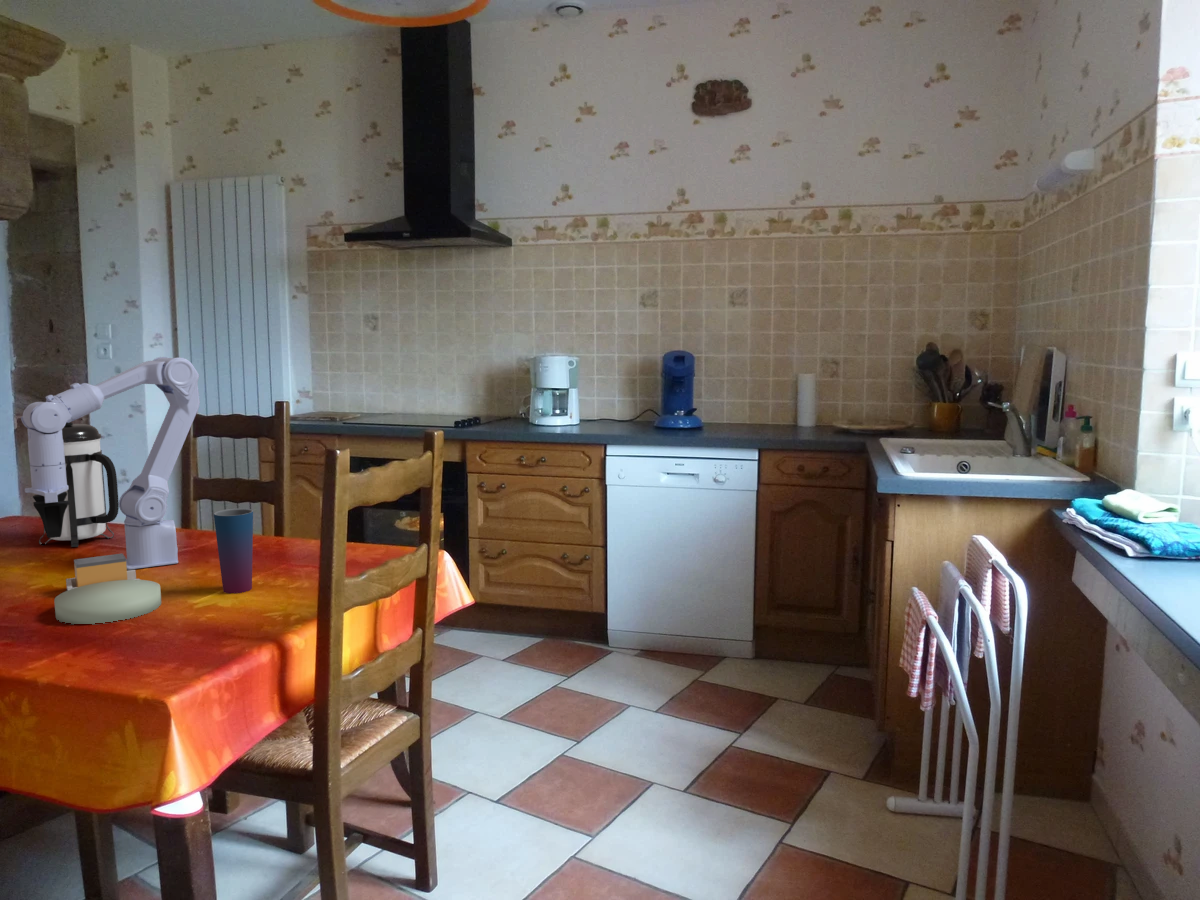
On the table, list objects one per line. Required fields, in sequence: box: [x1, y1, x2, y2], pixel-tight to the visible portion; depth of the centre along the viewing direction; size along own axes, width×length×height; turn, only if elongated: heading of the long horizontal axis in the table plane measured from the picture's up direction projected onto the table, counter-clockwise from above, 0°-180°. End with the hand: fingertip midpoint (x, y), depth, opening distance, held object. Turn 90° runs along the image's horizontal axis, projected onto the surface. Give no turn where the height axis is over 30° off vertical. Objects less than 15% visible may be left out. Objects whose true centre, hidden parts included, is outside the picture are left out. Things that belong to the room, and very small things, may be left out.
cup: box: [213, 507, 254, 594], centre depth 158 cm, size 7×7×15 cm
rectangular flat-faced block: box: [73, 553, 128, 587], centre depth 158 cm, size 8×4×6 cm, turn 126°
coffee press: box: [38, 422, 120, 548], centre depth 193 cm, size 17×16×30 cm
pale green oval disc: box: [54, 569, 162, 625], centre depth 151 cm, size 16×26×3 cm, turn 34°
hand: (53, 533), depth 163 cm, fingers open, 7 cm apart
